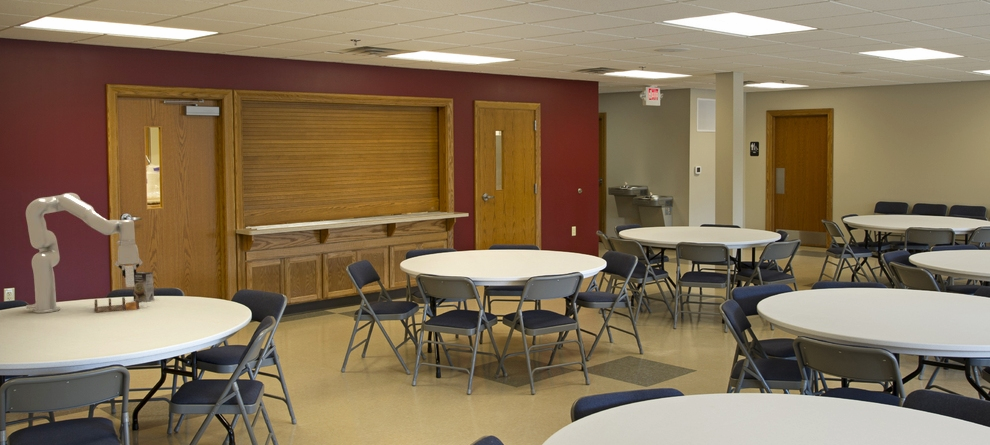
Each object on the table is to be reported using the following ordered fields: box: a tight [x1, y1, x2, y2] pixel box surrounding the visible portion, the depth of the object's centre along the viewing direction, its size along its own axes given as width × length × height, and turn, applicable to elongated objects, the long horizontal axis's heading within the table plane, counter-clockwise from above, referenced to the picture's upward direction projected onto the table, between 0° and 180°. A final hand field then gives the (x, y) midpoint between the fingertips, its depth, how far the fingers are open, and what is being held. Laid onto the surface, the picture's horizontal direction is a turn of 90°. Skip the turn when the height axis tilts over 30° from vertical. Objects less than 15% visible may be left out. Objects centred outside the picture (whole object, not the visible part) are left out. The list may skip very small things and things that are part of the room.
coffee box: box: [132, 271, 155, 303], centre depth 469 cm, size 9×6×16 cm
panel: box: [124, 265, 135, 288], centre depth 447 cm, size 4×11×10 cm, turn 25°
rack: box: [94, 296, 140, 314], centre depth 445 cm, size 21×15×5 cm
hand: (129, 276), depth 447 cm, fingers closed on panel, 4 cm apart
